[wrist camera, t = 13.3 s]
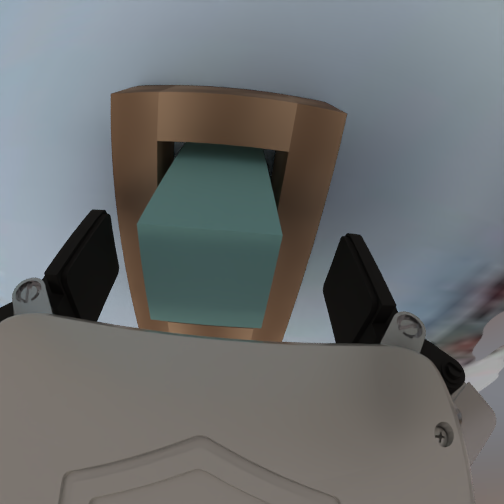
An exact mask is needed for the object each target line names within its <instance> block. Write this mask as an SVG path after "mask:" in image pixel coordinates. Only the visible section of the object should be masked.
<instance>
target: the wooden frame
mask: <svg viewBox="0 0 504 504" xmlns="http://www.w3.org/2000/svg"><path fill="white" fill-rule="evenodd" d="M346 117H347V113H345V112H343V111H341V110H339V109H337V108H335V107H334V106H332V105H330V104H328V103H326V102H322V101H318V100H313V99H307V98H302V97H297V96H291V95H285V94H278V93H271V92H264V91H256V90H247V89H238V88H226V87H212V86H190V85H145V86H135V87H132V88H128V89H125V90H122V91H118V92H115V93H112V94H111V142H112V161H113V175H114V187H115V197H116V206H117V215H118V222H119V230H120V237H121V243H122V250H123V256H124V261H125V267H126V272H127V278H128V283H129V288H130V292H131V297H132V302H133V306H134V310H135V315H136V319H137V323H138V327H139V328H140V329H147V330H154V331H162V332H170V333H178V334H187V335H196V336H206V337H217V338H229V339H242V340H257V341H275V342H282V340H283V337H284V334H285V331H286V328H287V325H288V322H289V319H290V316H291V313H292V310H293V307H294V304H295V301H296V298H297V295H298V292H299V289H300V286H301V283H302V280H303V276H304V273H305V270H306V267H307V264H308V260H309V257H310V254H311V250H312V247H313V244H314V240H315V237H316V233H317V230H318V226H319V223H320V219H321V216H322V212H323V209H324V205H325V201H326V198H327V194H328V190H329V186H330V183H331V179H332V175H333V171H334V167H335V163H336V159H337V155H338V151H339V147H340V143H341V138H342V134H343V130H344V126H345V121H346ZM174 142H195V143H210V144H223V145H234V146H245V147H254V148H263V149H271V150H276V152H275V158H274V164H273V170H272V176H271V186H272V190H273V194H274V199H275V203H276V208H277V212H278V217H279V221H280V226H281V230H282V235H283V236H282V241H281V245H280V250H279V254H278V259H277V263H276V267H275V272H274V276H273V281H272V285H271V289H270V293H269V298H268V302H267V306H266V310H265V315H264V319H263V323H262V327H261V328H244V327H228V326H214V325H201V324H190V323H179V322H170V321H160V320H152V319H151V318H150V313H149V307H148V302H147V296H146V290H145V284H144V277H143V270H142V263H141V256H140V248H139V239H138V230H137V223H138V221H139V219H140V217H141V215H142V213H143V212H144V210H145V208H146V206H147V205H148V203H149V201H150V199H151V197H152V196H153V194H154V192H155V191H156V189H157V187H158V186H159V184H160V182H161V181H162V179H163V177H164V176H165V174H166V172H167V171H168V169H169V167H170V166H171V164H172V163H173V157H174Z"/></svg>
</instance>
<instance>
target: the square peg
mask: <svg viewBox="0 0 504 504" xmlns="http://www.w3.org/2000/svg"><path fill="white" fill-rule="evenodd" d="M137 230H138V239H139V248H140V256H141V263H142V270H143V277H144V284H145V290H146V296H147V302H148V307H149V313H150V318H151V319H152V320H160V321H170V322H179V323H190V324H201V325H214V326H228V327H244V328H261V327H262V323H263V319H264V315H265V310H266V306H267V302H268V298H269V293H270V289H271V285H272V281H273V276H274V272H275V267H276V263H277V259H278V254H279V250H280V245H281V241H282V236H283V235H282V230H281V226H280V221H279V217H278V212H277V208H276V203H275V199H274V194H273V190H272V186H271V181H270V177H269V173H268V169H267V164H266V160H265V156H264V152H263V148H254V147H245V146H234V145H223V144H210V143H195V142H186V143H185V144H184V146H183V147H182V149H181V150H180V152H179V153H178V155H177V156H176V158H175V159H174V161H173V163H172V164H171V166H170V167H169V169H168V171H167V172H166V174H165V176H164V177H163V179H162V181H161V182H160V184H159V186H158V187H157V189H156V191H155V192H154V194H153V196H152V197H151V199H150V201H149V203H148V205H147V206H146V208H145V210H144V212H143V213H142V215H141V217H140V219H139V221H138V223H137Z"/></svg>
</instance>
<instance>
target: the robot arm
mask: <svg viewBox="0 0 504 504" xmlns="http://www.w3.org/2000/svg"><path fill="white" fill-rule="evenodd" d="M118 272H119V264H118V259H117V254H116V248H115V242H114V236H113V230H112V223H111V217H110V215H109V214H107V212H106V211H105V210H91V211H90V212H89V214H88V215H87V216H86V217H85V219H84V220H83V221H82V222H81V224H80V225H79V226H78V227H77V229H76V230H75V231H74V232H73V234H72V235H71V236H70V238H69V239H68V240H67V242H66V243H65V244H64V246H63V247H62V248H61V250H60V251H59V252H58V254H57V255H56V257H55V258H54V259H53V261H52V262H51V264H50V265H49V267H48V268H47V270H46V271H45V273H44V274H45V276H44V278H43V279H42V280H41V279H39V278H29V279H26V280H24V281H22V282H21V283H19V284H18V285H17V287H16V288H15V289H14V291H13V294H12V301H13V302H11V303H9V304H7V305H5V306H3V307H1V308H0V504H475V497H474V489H473V482H472V475H471V469H470V466H471V465H472V463H473V462H474V460H475V459H476V457H477V456H478V454H479V453H480V451H481V450H482V448H483V447H484V445H485V443H486V442H487V440H488V438H489V437H490V435H491V433H492V432H493V430H494V428H495V425H496V416H495V413H494V411H493V410H492V408H491V407H490V406H489V405H488V403H486V401H485V400H484V399H483V398H482V397H481V395H480V394H479V393H478V392H477V391H476V389H475V388H474V387H473V386H472V385H471V384H470V382H468V383H467V384H466V383H465V382H464V381H465V373H464V370H463V368H462V366H461V365H460V364H459V363H458V362H457V361H456V360H455V359H453V358H452V357H451V356H449V355H448V354H446V353H445V352H443V351H442V350H440V349H439V348H438V347H436V346H435V345H433V344H432V343H430V342H429V341H427V340H426V339H425V336H426V329H425V326H424V324H423V322H422V321H421V320H420V319H419V318H418V317H417V316H415V315H414V314H412V313H409V312H405V311H403V312H398V311H397V309H396V304H395V301H394V299H393V297H392V295H391V293H390V291H389V289H388V287H387V285H386V283H385V281H384V278H383V276H382V274H381V272H380V270H379V268H378V266H377V265H376V263H375V261H374V259H373V257H372V255H371V253H370V251H369V249H368V247H367V245H366V244H365V242H364V240H363V238H362V236H361V235H358V234H350V233H347V234H346V235H345V236H342V237H341V239H340V242H339V245H338V248H337V250H336V253H335V256H334V259H333V262H332V264H331V267H330V270H329V272H328V275H327V278H326V280H325V283H324V286H323V294H324V298H325V302H326V305H327V309H328V313H329V317H330V321H331V325H332V329H333V333H334V337H335V341H336V343H300V342H275V341H257V340H242V339H229V338H217V337H206V336H196V335H187V334H178V333H170V332H162V331H154V330H147V329H140V328H133V327H126V326H120V325H114V324H108V323H102V322H97V320H98V318H99V316H100V313H101V311H102V308H103V306H104V304H105V302H106V299H107V297H108V295H109V293H110V290H111V288H112V286H113V284H114V282H115V280H116V277H117V275H118Z"/></svg>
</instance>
